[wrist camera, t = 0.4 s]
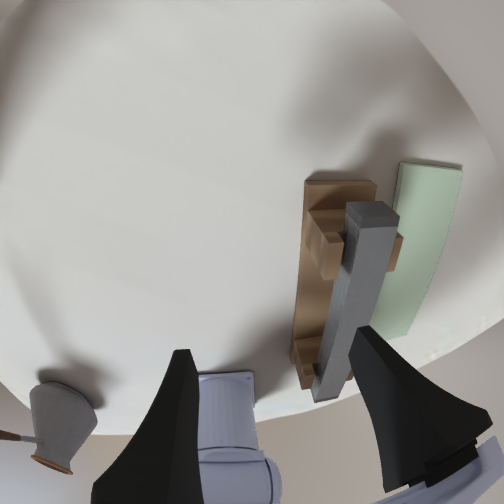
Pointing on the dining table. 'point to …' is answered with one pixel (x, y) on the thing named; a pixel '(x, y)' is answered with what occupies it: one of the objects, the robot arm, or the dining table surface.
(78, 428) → the coffee pot
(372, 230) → the rail
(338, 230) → the rack
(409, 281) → the pad
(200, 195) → the dining table surface
